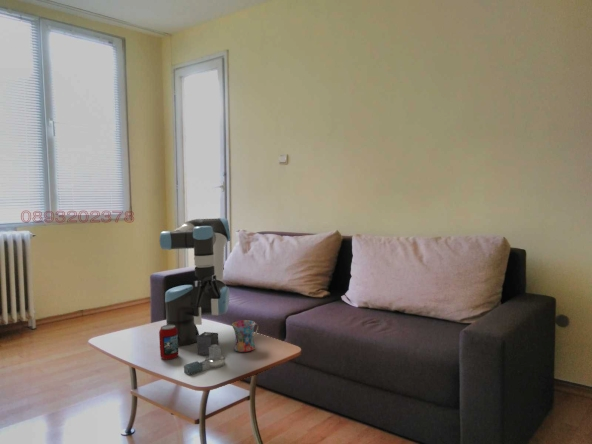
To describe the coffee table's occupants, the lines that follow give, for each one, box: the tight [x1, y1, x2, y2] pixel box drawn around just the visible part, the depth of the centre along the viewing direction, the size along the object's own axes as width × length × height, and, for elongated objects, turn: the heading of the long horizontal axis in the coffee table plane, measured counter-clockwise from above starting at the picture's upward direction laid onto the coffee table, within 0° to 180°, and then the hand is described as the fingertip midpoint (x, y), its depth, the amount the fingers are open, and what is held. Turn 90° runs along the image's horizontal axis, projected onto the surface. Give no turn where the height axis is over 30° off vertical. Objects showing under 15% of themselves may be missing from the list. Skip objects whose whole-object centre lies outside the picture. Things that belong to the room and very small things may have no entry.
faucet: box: [183, 344, 226, 376], centre depth 161 cm, size 7×15×7 cm, turn 132°
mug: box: [231, 319, 260, 353], centre depth 179 cm, size 12×9×11 cm
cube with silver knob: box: [196, 331, 220, 357], centre depth 176 cm, size 6×6×8 cm
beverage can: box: [158, 324, 179, 360], centre depth 173 cm, size 7×7×12 cm
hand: (206, 319), depth 176 cm, fingers open, 13 cm apart
